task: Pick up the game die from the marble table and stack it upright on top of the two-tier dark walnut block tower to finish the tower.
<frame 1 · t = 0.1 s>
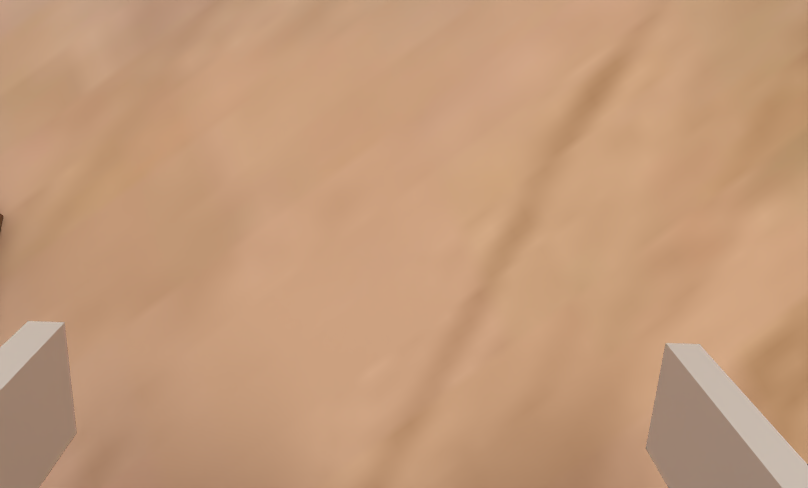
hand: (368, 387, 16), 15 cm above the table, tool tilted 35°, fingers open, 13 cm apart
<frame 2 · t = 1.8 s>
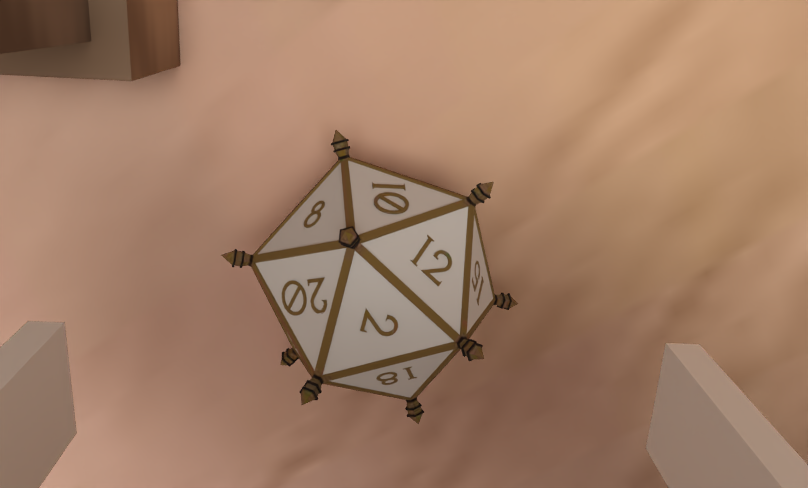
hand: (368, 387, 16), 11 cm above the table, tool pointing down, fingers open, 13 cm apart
game die: (379, 240, 27), on the table
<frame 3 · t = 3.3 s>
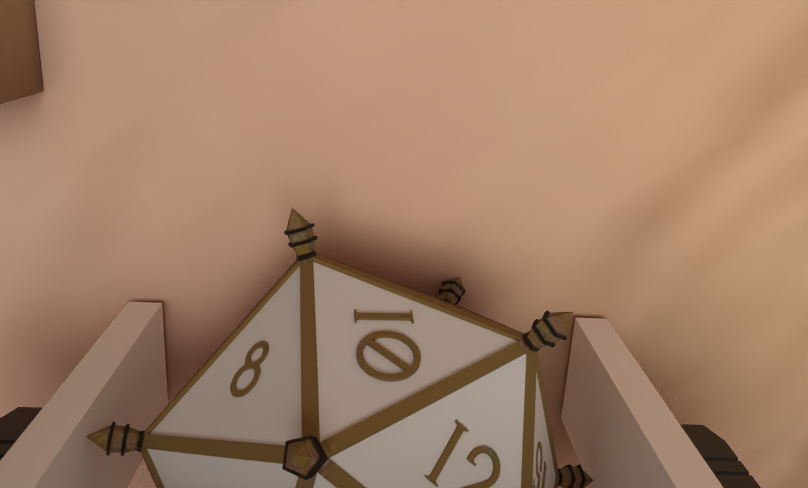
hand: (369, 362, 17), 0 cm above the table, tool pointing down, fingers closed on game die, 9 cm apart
game die: (369, 356, 18), on the table, touching gripper
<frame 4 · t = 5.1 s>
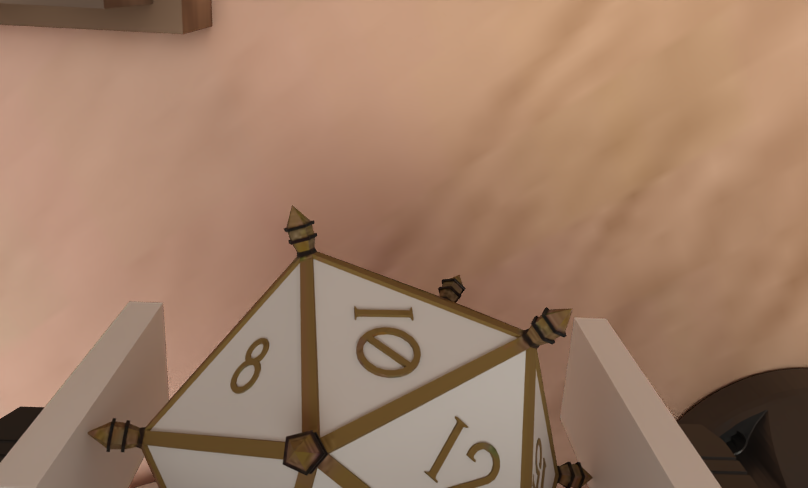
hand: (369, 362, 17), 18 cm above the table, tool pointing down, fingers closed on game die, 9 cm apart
game die: (369, 354, 18), point 17 cm above the table, touching gripper
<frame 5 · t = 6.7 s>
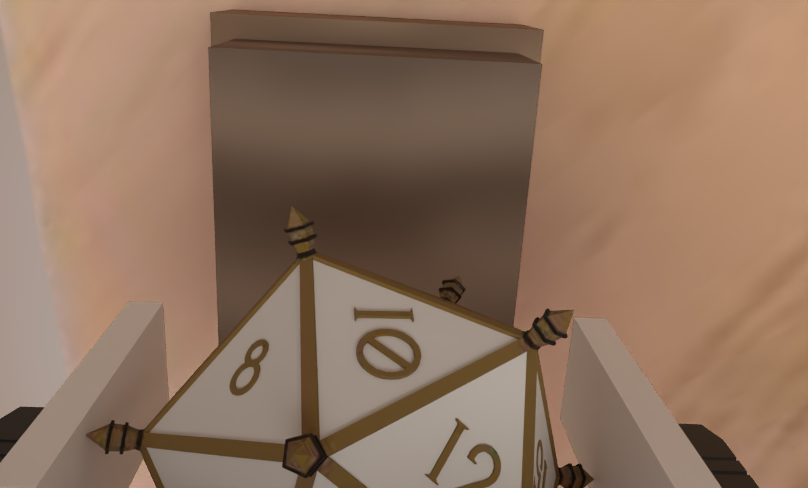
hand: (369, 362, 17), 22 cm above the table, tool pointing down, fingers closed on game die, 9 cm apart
walnut tower base: (373, 159, 38), on the table
game die: (369, 355, 18), point 21 cm above the table, touching gripper
when the fingers open (11 cm above the table, at t = 9.2 s): game die stays where it is, resting on walnut tower base.
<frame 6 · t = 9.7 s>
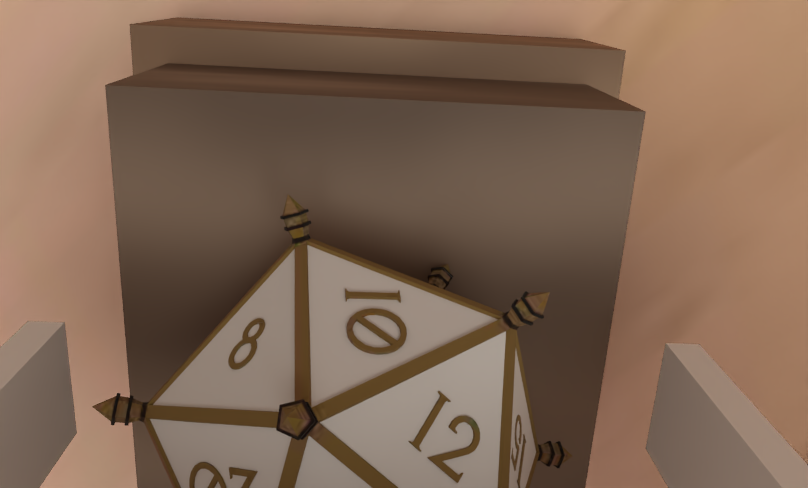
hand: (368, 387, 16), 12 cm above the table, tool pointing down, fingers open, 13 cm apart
walnut tower base: (373, 221, 28), on the table
game die: (361, 339, 18), point 10 cm above the table, touching walnut tower base
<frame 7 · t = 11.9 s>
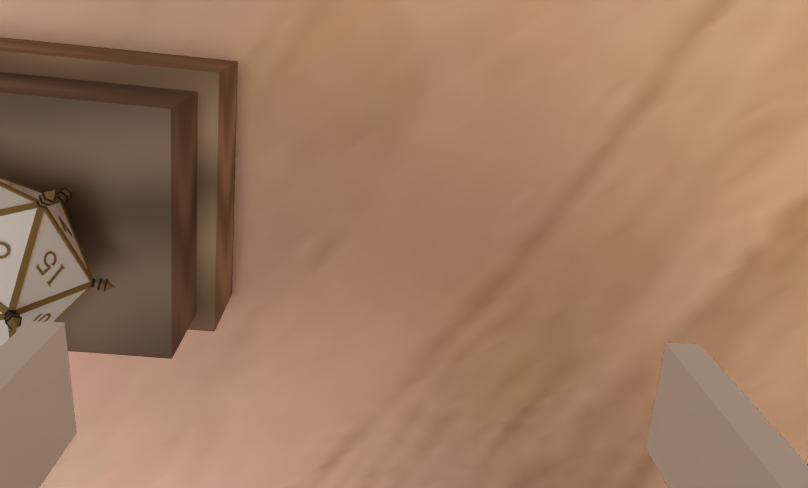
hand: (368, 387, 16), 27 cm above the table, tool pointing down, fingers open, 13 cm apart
walnut tower base: (111, 173, 42), on the table
game die: (31, 229, 33), point 10 cm above the table, touching walnut tower base
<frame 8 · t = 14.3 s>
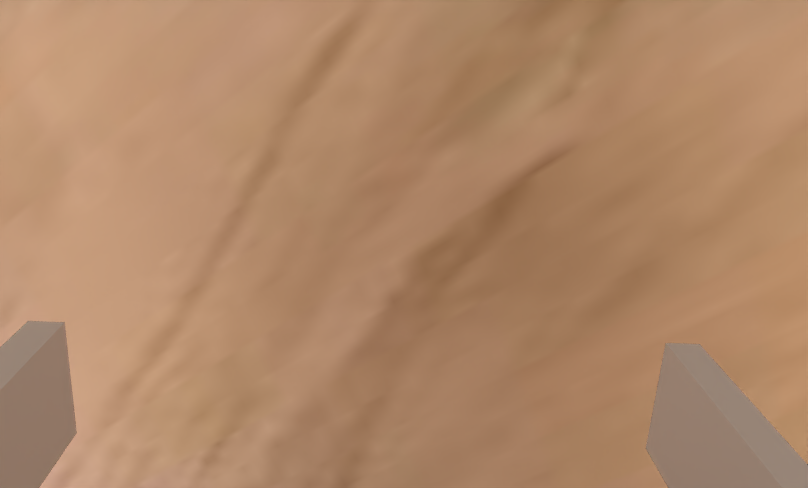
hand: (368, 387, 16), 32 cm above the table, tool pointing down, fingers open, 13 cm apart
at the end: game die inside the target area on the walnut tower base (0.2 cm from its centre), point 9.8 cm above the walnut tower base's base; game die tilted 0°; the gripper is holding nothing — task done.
